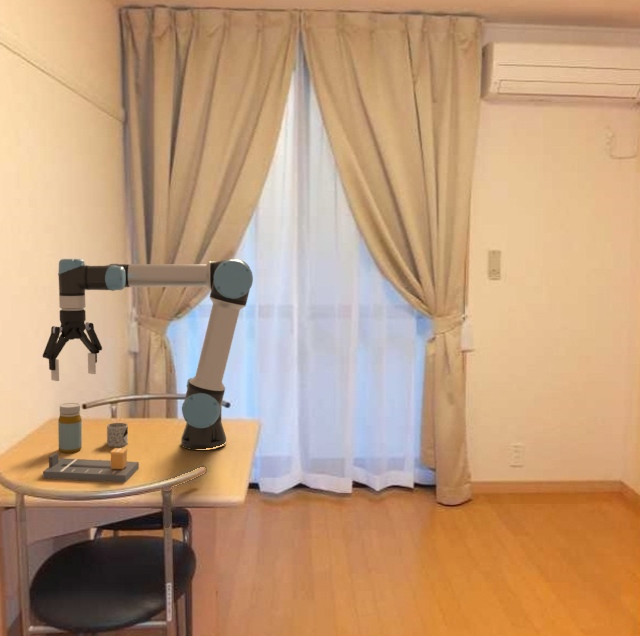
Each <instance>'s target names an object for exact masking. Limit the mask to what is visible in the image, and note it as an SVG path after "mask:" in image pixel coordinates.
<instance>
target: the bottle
mask: <svg viewBox="0 0 640 636" xmlns="http://www.w3.org/2000/svg"><path fill="white" fill-rule="evenodd" d="M80 404H81V403H79V402H67V403H61V404H60V405H59V417H58V422H57V423H58V424H57V425H58V426H57V427H58V431H57V432H58V451H59V452H61V453H63V454H72V453H77V452H80V451H81V449H82V448H83V447H82V446H83V445H82V444H83V441H82V440H83V438H82V437H83V435H82V434H83V433H82V428H83V427H82V425H83V424H82V416H81V405H80Z"/></svg>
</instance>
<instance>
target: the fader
mask: <svg viewBox="0 0 640 636" xmlns="http://www.w3.org/2000/svg"><path fill="white" fill-rule="evenodd" d="M109 453H110V461H111V469H123V468H124V467H125V466H126V465H127V460H128V456H127V455H128V454H127V453H128V448H123V447H113V449H112V450H110V452H109Z"/></svg>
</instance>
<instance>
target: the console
mask: <svg viewBox="0 0 640 636" xmlns="http://www.w3.org/2000/svg"><path fill="white" fill-rule="evenodd" d="M139 465H140V463H139V461H127V465H126V466H125V467H124V468H123V469H111V460H103V459H102V460H101V459H86V458H85V459H84V458H83V459H80V458H62V457H60V458H59V452H54V453H53V454H51V455H49V456H48V467H47V468H46V469H44V470H43V471H42V478H43V479H49V478H51V480H69V481H73V480H74V481H92V482H93V481H94V482H109V481H111V482H114V483H127V481H128V480H129V479H130V478H131V477H132V476H133V475H134V474H135V473H136V472H137V471H138V470H139V469H140V466H139Z"/></svg>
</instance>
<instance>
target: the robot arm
mask: <svg viewBox="0 0 640 636" xmlns="http://www.w3.org/2000/svg"><path fill="white" fill-rule="evenodd" d="M57 275H58V276H57V277H58V291H59V293H58V296H59V297H58V299H59V300H58V301H59V303H58V304H59V309H60V310H59V321H60V326H55V325H54V326H51V329H50V336H49V338H48V341H47V343H46V346H45V348H44V350H43V353H42V358H44V359H47V360H48V369H49V371H50V372H51V373H50V378H51V381H54V382H59V381H60V364H59V363H60V362H59V361H60V360H59V359H57V358H58V357H59V355H60V354H61V352H62V351H63V349H64V347H65V346H66V344H67V343H68V342H69V341H71V340H75V339H77V340H80V341H81V343H82V344H83V345H84V347H86V348H87V350H88V351H89V352H88V353H87V373H88V374H90V375H95V374H96V372H97V370H96V366H97V365H96V364H97V363H98V354H99V353H100V351H102V350H103V346H102V344H101V342H100V340H99V338H98V335H97V333H96V330H95V328H94V327H95V326H94V323H93V322H86V321H87V320H86V319H87V318H86V316H87V315H86V310H85V309H86V291H112V292H114V291H121V290H124V289H125V288H207V289H209V290H210V293H209V299H210V301H211V302H212V306H211V311H210V316H209V317H208V318H209V319H208V323H207V327H206V331H205V335H204V341H203V343H202V348H201V351H200V356H199V360H198V364H197V367H196V372H195V376H194V377H192V378H191V377H190V378H188V379H187V383H186V389H187V390H186V393H185V397H184V400H183V403H182V406H181V413H182V417H183V419H184V420H185V422H186V424H185V427H184V429H183V431H182V432H183V433H182V435H181V439H180V444H181V446H182V447H183V446H184V447H186V448H185V449H187V448H190V449H189V450H191V449H206V448H213V447H216V446H220V445H222V444H224V443H225V442H226V443H227V436H226V435H227V434H226V433H225V430H224V426H223V423H222V407H223V406H222V405H223V399H224V395H225V391H226V387H225V385H224V384H223V383H224V382H223V380H224V375H225V371H226V367H227V363H228V359H229V356H230V352H231V348H232V347H231V346H232V343H233V339H234V334H235V331H236V326H237V322H238V318H239V315H240V311H241V309H243V308H245V307H246V306H247V303H248V298H249V294H250V290H251V288H252V285H253V282H254V281H253V279H254V277H253V272H252V270H251V268H250V266H249V264H248V263H247V262H245V261H243V260H242V259H240V258H229V259H224V260H223V259H222V260H213V261H211V260H210V261H208V262H207V263H202V264H201V263H199V264H198V263H193V264H192V263H190V264H189V263H187V264H185V263H184V264H183V263H180V264H179V263H175V264H172V263H169V264H168V263H167V264H166V263H165V264H161V263H159V264H158V263H157V264H156V263H155V264H154V263H153V264H152V263H148V264H146V263H144V264H141V263H140V264H138V263H137V264H136V263H134V264H131V263H129V264H126V263H125V264H124V263H123V264H122V263H121V264H119V263H110V264H107V265H86V263H85V260H84V259H83V258H61V259H60V260H59V262H58V273H57ZM85 331H86V333H87V334H86V333H85ZM184 447H183V448H184Z"/></svg>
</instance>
